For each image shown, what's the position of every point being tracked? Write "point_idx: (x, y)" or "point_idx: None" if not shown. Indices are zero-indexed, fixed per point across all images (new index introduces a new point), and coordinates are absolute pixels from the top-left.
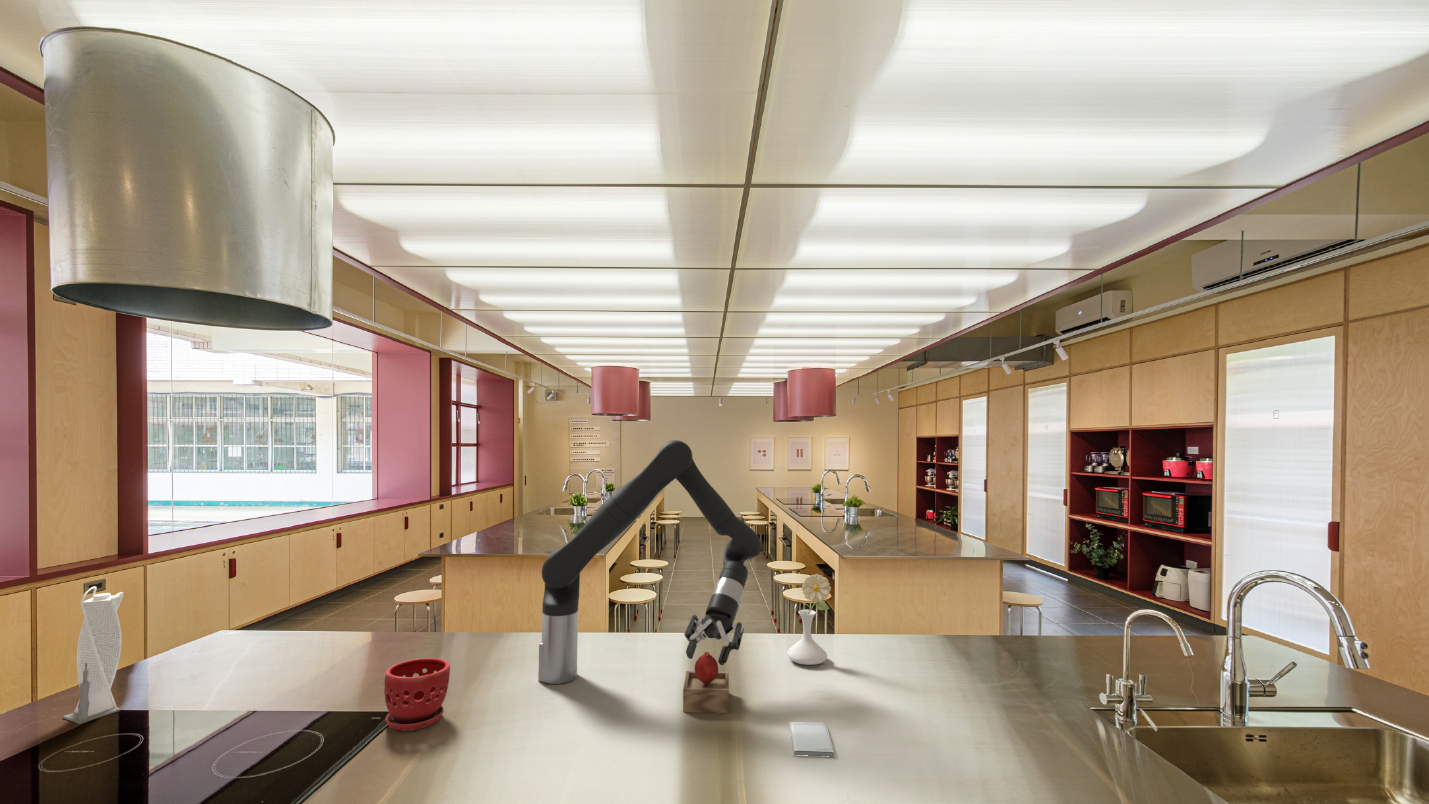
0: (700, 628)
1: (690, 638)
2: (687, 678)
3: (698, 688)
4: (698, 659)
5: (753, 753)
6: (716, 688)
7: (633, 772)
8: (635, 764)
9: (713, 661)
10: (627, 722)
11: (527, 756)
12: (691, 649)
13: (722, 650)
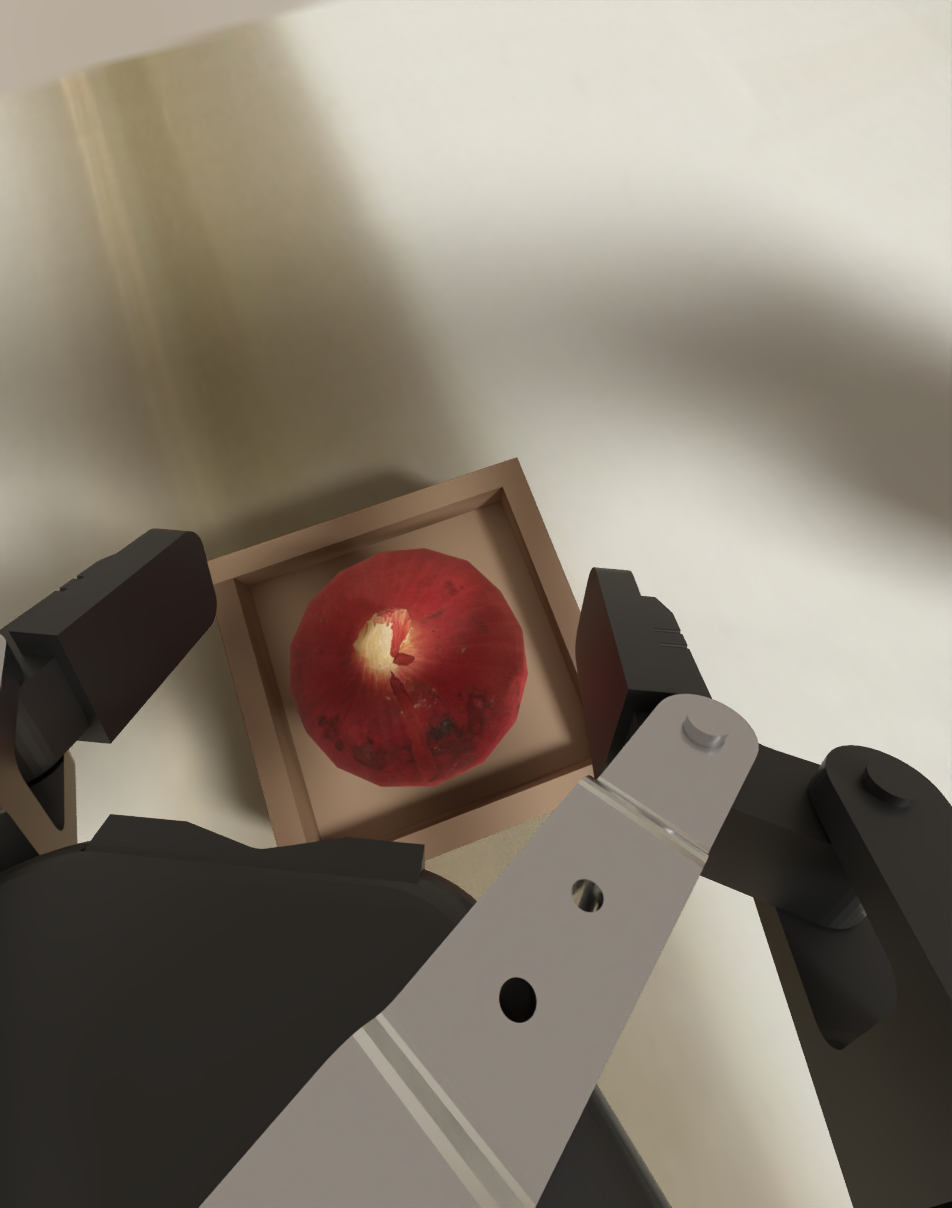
0: (616, 907)
1: (725, 712)
2: (570, 638)
3: (420, 505)
4: (480, 611)
5: (68, 295)
6: (296, 553)
7: (475, 50)
8: (494, 88)
9: (304, 634)
10: (708, 329)
11: (885, 10)
12: (602, 618)
13: (86, 593)
